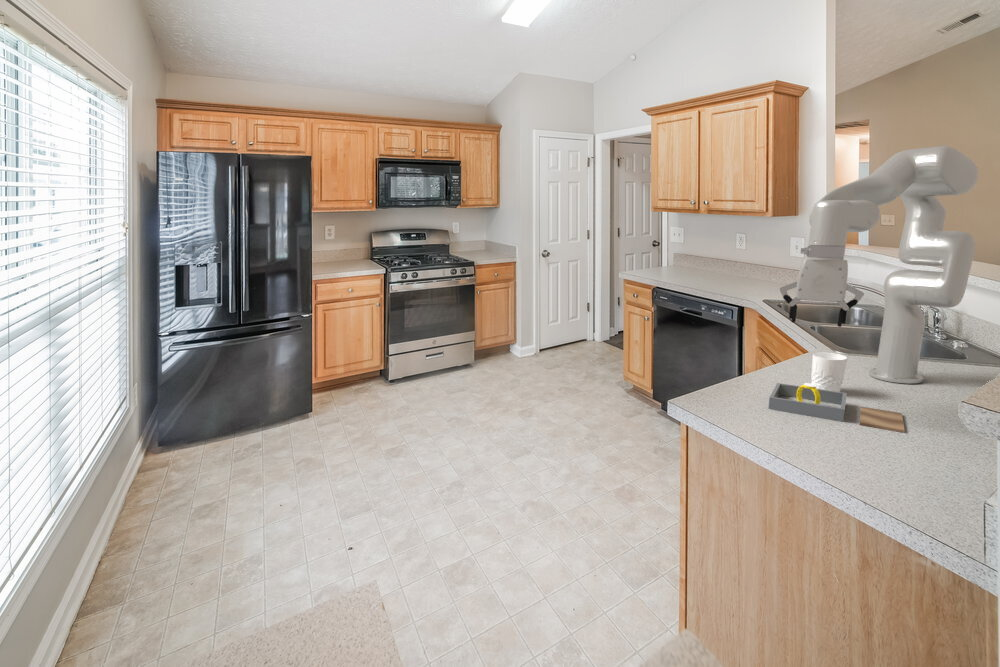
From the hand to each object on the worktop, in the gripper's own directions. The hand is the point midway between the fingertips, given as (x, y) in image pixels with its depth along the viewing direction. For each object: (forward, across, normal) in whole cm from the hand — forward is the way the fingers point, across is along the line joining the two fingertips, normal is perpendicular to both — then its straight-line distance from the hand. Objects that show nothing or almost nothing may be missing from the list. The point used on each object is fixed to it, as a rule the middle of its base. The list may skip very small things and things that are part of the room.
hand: (815, 323), depth 123 cm
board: (+21, +16, -2) cm, 26 cm away
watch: (+21, +1, 0) cm, 21 cm away
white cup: (+21, +4, +16) cm, 26 cm away
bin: (+21, +1, 0) cm, 21 cm away
